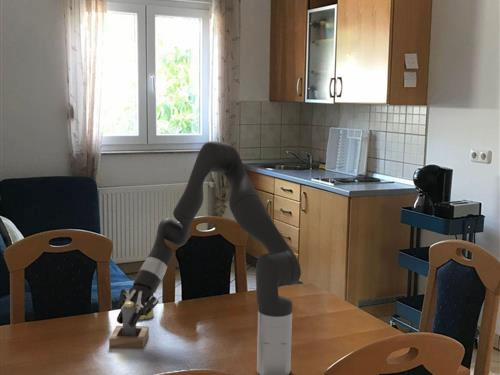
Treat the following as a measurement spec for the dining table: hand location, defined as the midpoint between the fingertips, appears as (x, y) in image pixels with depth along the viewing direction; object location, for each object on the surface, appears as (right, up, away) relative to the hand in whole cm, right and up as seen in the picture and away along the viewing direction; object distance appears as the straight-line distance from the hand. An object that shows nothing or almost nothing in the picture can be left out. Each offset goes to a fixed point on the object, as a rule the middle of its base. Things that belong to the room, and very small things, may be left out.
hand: (125, 323), depth 177 cm
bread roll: (0, -3, +24) cm, 24 cm away
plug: (+1, -4, +2) cm, 5 cm away
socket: (+1, -6, +2) cm, 7 cm away
